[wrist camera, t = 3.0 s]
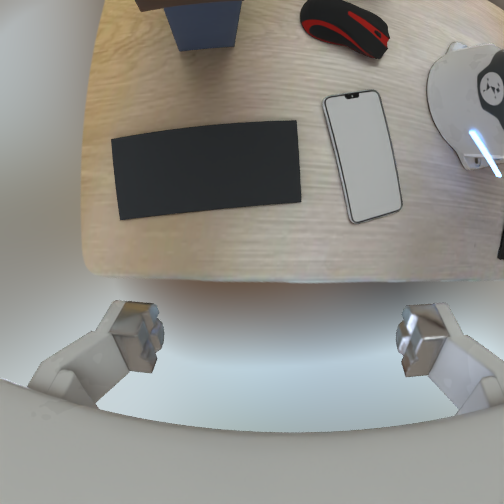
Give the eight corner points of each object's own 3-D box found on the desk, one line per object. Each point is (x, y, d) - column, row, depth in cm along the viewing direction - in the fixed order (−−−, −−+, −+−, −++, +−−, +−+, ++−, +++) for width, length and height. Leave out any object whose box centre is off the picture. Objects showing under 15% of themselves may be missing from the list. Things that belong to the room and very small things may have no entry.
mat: (295, 120, 33) (296, 120, 32) (300, 201, 35) (301, 202, 35) (112, 139, 31) (111, 139, 31) (121, 219, 34) (120, 220, 33)
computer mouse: (379, 66, 31) (395, 58, 28) (294, 31, 30) (302, 18, 26) (387, 27, 30) (403, 17, 26) (306, -8, 28) (315, -23, 24)
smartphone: (351, 226, 36) (321, 97, 31) (349, 224, 37) (319, 98, 32) (404, 210, 36) (378, 88, 32) (401, 209, 37) (376, 89, 32)
